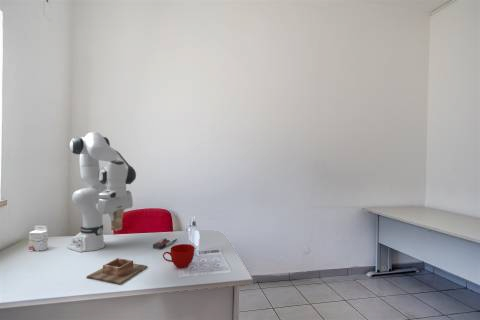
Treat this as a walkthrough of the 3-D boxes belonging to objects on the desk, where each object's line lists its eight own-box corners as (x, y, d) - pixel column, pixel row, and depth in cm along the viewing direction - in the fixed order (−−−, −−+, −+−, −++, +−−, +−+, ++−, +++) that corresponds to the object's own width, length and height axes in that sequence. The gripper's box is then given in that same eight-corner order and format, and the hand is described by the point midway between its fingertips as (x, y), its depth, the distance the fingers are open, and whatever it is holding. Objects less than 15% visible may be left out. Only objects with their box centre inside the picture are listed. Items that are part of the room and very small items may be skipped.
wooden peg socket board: (86, 278, 128) (86, 268, 128) (116, 262, 147) (117, 253, 147) (120, 284, 122) (120, 274, 122) (147, 267, 141) (147, 258, 141)
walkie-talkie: (163, 250, 168) (178, 241, 187) (163, 244, 167) (178, 235, 187) (151, 249, 170) (166, 240, 189) (151, 242, 170) (167, 233, 189)
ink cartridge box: (28, 251, 161) (28, 227, 161) (34, 248, 166) (34, 225, 166) (42, 251, 161) (42, 227, 161) (48, 248, 166) (48, 225, 166)
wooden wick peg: (111, 230, 133) (111, 206, 132) (116, 228, 136) (116, 205, 136) (116, 230, 132) (117, 206, 131) (121, 228, 135) (122, 205, 135)
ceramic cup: (161, 264, 146) (161, 246, 146) (191, 260, 153) (191, 243, 153) (164, 274, 134) (164, 254, 134) (196, 269, 141) (197, 250, 141)
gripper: (126, 189, 144) (126, 214, 145) (95, 194, 125) (95, 223, 125) (135, 190, 142) (135, 215, 143) (106, 195, 123) (106, 224, 123)
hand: (116, 219), depth 134 cm, fingers closed on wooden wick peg, 3 cm apart
